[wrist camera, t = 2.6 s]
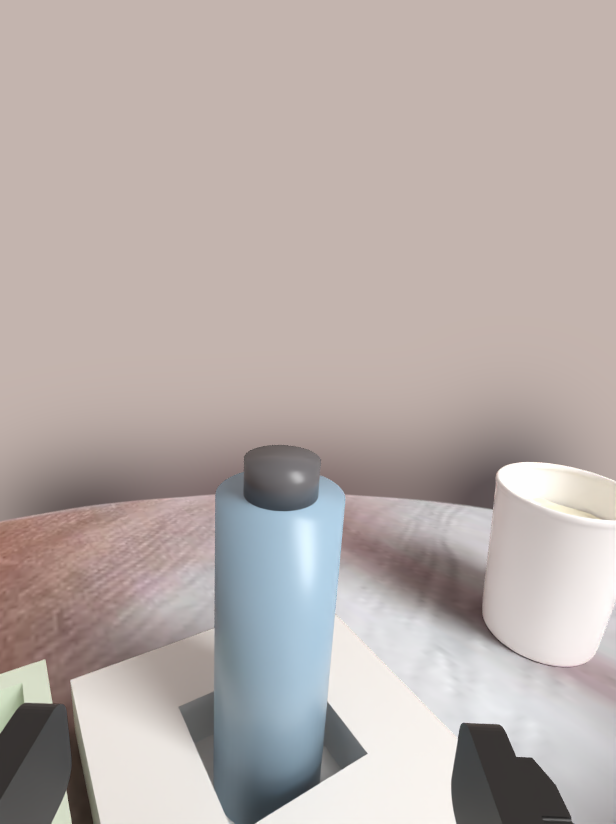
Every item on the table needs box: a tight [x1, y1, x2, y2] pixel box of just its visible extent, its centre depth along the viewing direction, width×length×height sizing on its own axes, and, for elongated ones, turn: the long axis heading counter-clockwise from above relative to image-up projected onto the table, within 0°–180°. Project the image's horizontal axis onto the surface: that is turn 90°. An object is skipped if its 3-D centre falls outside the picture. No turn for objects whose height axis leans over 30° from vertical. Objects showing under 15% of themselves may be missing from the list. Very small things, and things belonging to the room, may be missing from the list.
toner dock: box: [70, 613, 458, 824], centre depth 25 cm, size 16×16×4 cm
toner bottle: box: [213, 445, 345, 824], centre depth 23 cm, size 6×6×18 cm
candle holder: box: [482, 462, 616, 667], centre depth 37 cm, size 10×10×12 cm
